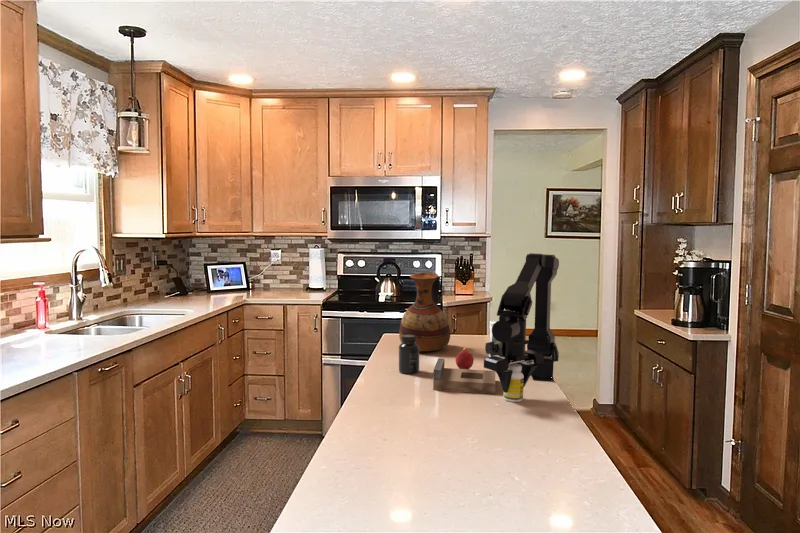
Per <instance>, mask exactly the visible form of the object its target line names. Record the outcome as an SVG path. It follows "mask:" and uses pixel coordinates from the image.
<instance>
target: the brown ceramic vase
mask: <svg viewBox="0 0 800 533" xmlns="http://www.w3.org/2000/svg"><path fill="white" fill-rule="evenodd" d="M409 278H410V279H411V280H412V281H413V282H414V284H415V287H416V290H415V291H416V297H415V301H414V303H413V304H411V305H410V306H409V307H408V308H407V310H406V311H405V312H404V314H403V315H402V318H401V321H400V324H399V336H398V337H399V341H400V344H401V343H402V336H403V335H416V340H417V341H416V343H417V344H418V345H419V352H431V351H438V350H440V349H443V348H445V347H446V346H447V345H448V344H449V343H450V339H451V329H450V328H451V327H450V325H449V322H448V318H447V316H446V315H445V313H444V312H443V310H442V309H441V307H439V306H438V301H439V295H440V287H441V281H440V277H439V275H438V274H437V273H435V272H430V271H429V272H428V271H426V272H425V271H424V272H415V273H414V274H410V275H409Z"/></svg>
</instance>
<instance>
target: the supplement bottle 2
mask: <svg viewBox="0 0 800 533" xmlns="http://www.w3.org/2000/svg"><path fill="white" fill-rule="evenodd" d="M509 370H512V371H513V372H512V377H511V381H510V385H509V389H508V392H507V393H505V392H503V395H502V396H503V399H504V400H505V401H506V402H511V403H519V402H521V401H523V400H524V388H523V384H524V375H523V374H522V373H521V371H522V366H521V365H519V364H511V365H509Z"/></svg>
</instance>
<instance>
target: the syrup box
mask: <svg viewBox="0 0 800 533" xmlns="http://www.w3.org/2000/svg"><path fill="white" fill-rule="evenodd" d="M497 321H498V320H490V321H489V340H488V342H494V343H495V344H500V343H501V342H499V341H497V340H496V339H495V338H494V337H493V335H492V327H493V325H494V323H496V322H497ZM495 356H496V357H500V356H499V355H495ZM488 357H491V356H490V354H488ZM500 358H503V359H505V357H500Z"/></svg>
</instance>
